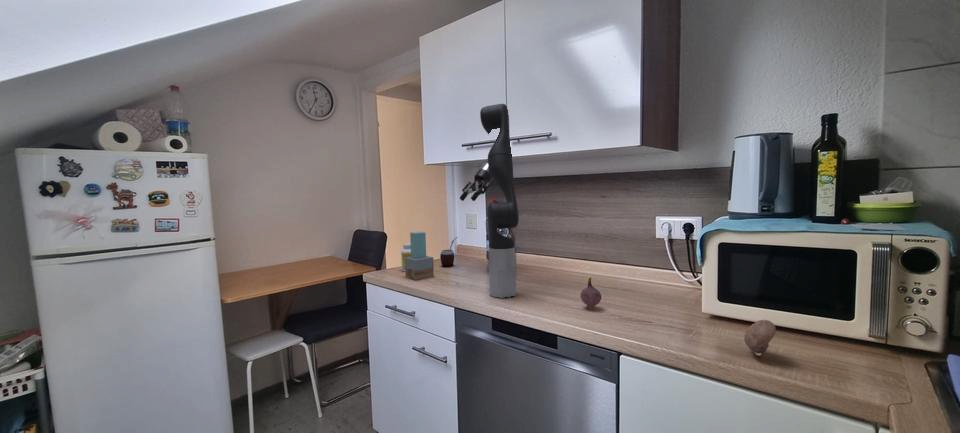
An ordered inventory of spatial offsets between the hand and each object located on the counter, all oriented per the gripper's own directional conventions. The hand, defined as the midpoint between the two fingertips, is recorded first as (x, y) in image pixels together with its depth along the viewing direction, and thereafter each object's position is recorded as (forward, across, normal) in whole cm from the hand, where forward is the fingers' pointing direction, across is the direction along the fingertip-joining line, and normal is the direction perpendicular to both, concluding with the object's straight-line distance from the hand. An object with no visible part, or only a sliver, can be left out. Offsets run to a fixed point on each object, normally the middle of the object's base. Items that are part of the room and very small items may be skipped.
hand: (466, 199), depth 162 cm
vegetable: (+23, +64, +24) cm, 72 cm away
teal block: (+31, -11, +4) cm, 33 cm away
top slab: (+34, -10, +7) cm, 37 cm away
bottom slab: (+38, -10, +10) cm, 40 cm away
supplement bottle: (+36, -26, +12) cm, 46 cm away
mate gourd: (+22, -20, +26) cm, 40 cm away
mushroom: (+24, +107, +24) cm, 113 cm away
